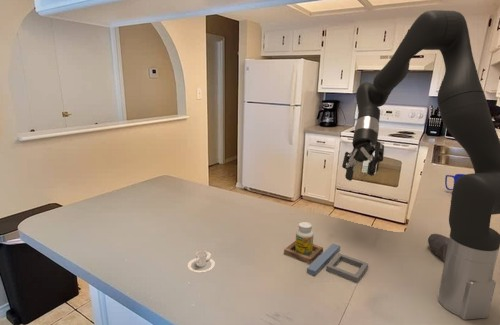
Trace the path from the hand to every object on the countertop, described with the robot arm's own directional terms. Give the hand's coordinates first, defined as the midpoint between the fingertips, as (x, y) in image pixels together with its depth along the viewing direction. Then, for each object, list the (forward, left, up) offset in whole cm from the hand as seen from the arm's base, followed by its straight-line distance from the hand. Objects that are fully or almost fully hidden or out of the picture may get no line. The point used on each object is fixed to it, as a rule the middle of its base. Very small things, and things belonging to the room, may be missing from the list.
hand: (359, 177), depth 93 cm
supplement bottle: (-2, +17, -24) cm, 30 cm away
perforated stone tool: (-9, -26, -24) cm, 37 cm away
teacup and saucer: (-5, +46, -25) cm, 52 cm away
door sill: (-7, +12, -24) cm, 28 cm away
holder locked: (-2, +17, -24) cm, 30 cm away
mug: (+45, -77, -24) cm, 93 cm away
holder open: (-12, +7, -24) cm, 28 cm away
